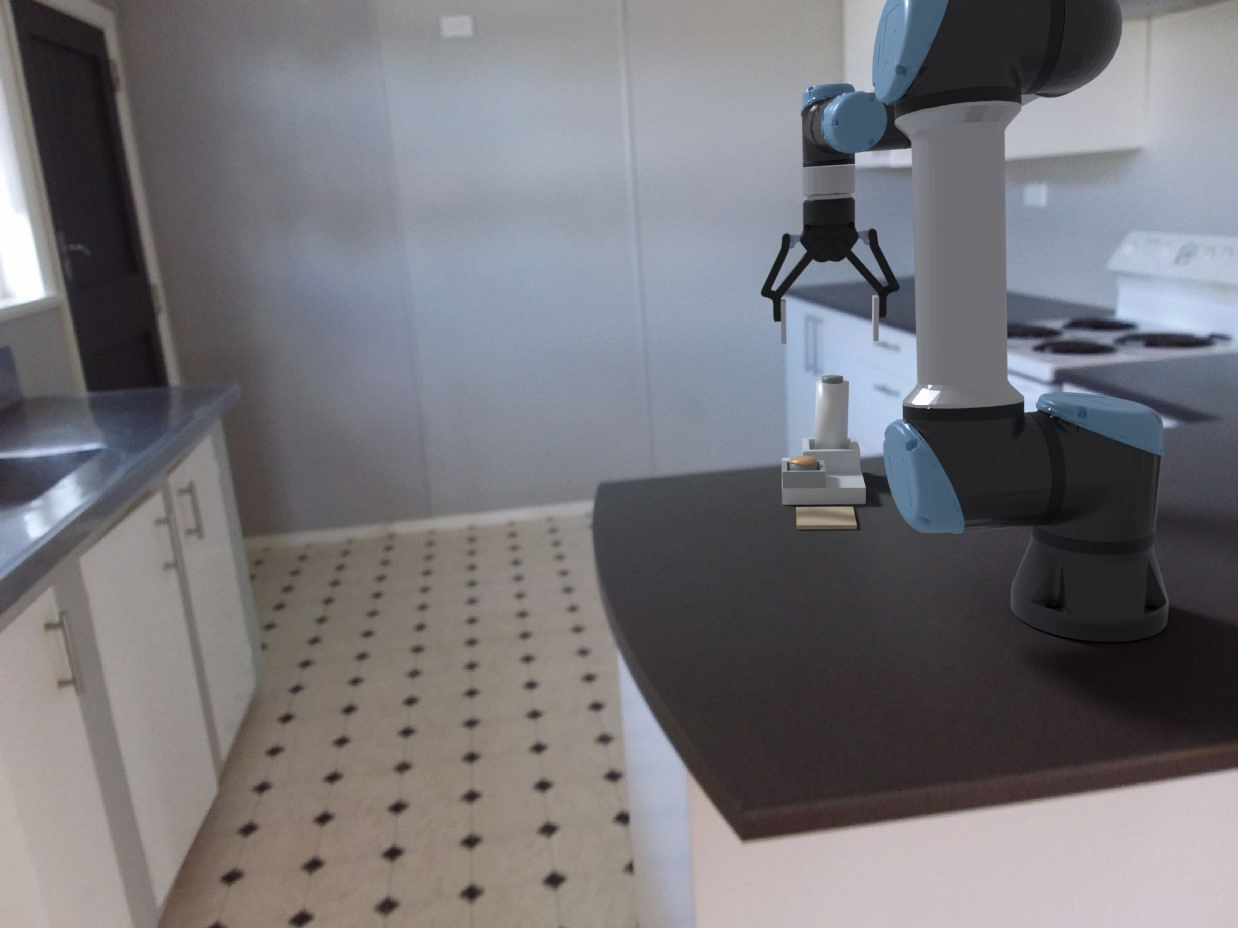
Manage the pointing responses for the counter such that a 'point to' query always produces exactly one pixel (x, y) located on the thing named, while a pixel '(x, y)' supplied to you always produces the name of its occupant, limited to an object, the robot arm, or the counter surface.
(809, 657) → the counter surface
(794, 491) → the housing
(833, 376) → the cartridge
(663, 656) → the counter surface
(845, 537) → the counter surface
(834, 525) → the coaster
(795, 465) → the tan dome
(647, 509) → the counter surface
